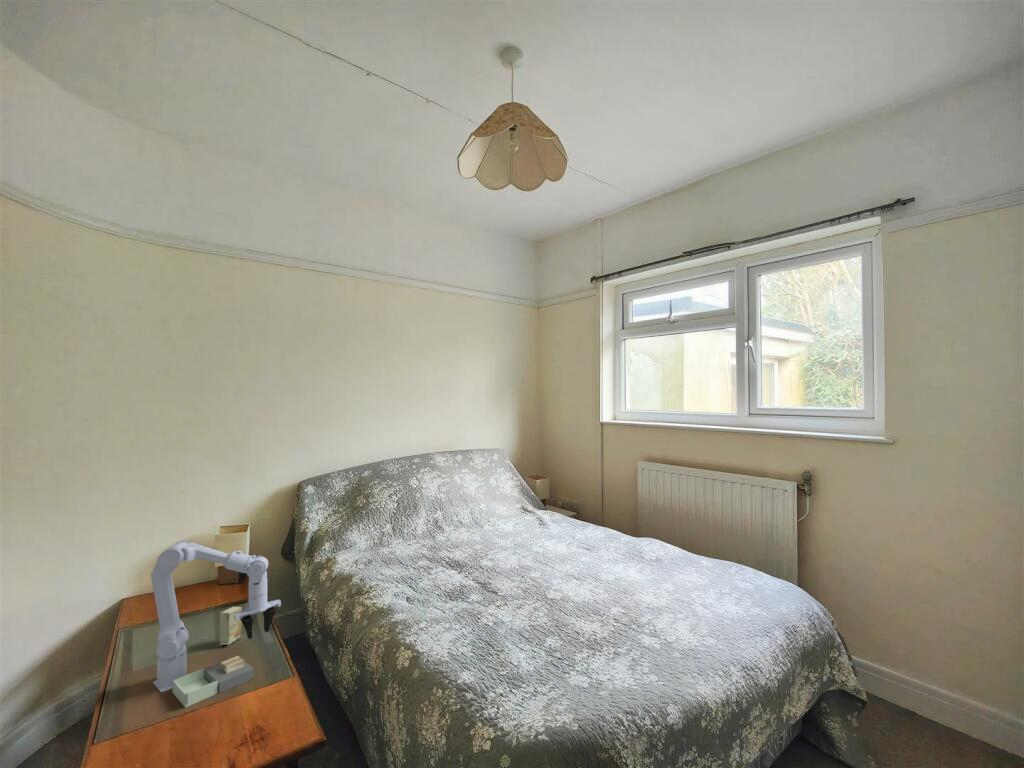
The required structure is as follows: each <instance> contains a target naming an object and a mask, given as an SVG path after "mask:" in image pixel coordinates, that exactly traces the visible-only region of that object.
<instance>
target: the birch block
mask: <svg viewBox="0 0 1024 768" xmlns="http://www.w3.org/2000/svg"><path fill="white" fill-rule="evenodd" d="M244 661H245V660H244V659H243V658H242V657H240V656H239V655H236V656H234V657H230V658H229V659H226V660H223V661H221V662H220V663H221V669H222V670H223V671H224V672H226V673H229V672H231V671H234V670H236V669H239V668H241V667H243V666H244Z"/></svg>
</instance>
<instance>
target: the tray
mask: <svg viewBox="0 0 1024 768" xmlns="http://www.w3.org/2000/svg"><path fill="white" fill-rule="evenodd" d="M204 669H205V668H204V667H203V668H201V669H198V670H196V671H193V672H191V673H188V674H186V675H185V676H183V677H180V678H178V679H175V680H172V688H171V690H172V694H173V695H174V696H175V697H176V699H177V700H178V701H179V702H180V703H181V704H182V706H183V707H184V708H188V707H190V706H193V705H194V704H196V703H199V702H201V701H204V700H206V699H208V698H210V697H212V696H215V695H218V694H219V693H218V681H215V682H212V683H208V682H207V681H206V680H205V679H204Z"/></svg>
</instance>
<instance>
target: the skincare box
mask: <svg viewBox="0 0 1024 768" xmlns="http://www.w3.org/2000/svg"><path fill="white" fill-rule="evenodd" d="M240 611H242V606H232V607H229V608H227V609H225V610H223V611H221V612H219V644H220V643H221V644H226V645H229V644H231V643H232V642H233V641H235V640H236V639H237V638H239V637H240V636H241V637H242V621H241V620H240V619H239V620H238V621H235V620H234V614H235V613H238V612H240Z"/></svg>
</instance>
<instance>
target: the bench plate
mask: <svg viewBox="0 0 1024 768" xmlns="http://www.w3.org/2000/svg"><path fill="white" fill-rule="evenodd" d="M204 679H205V680H206V681H207V682H208V683H212V682H215V681H218V693H217V694H222V693H223V692H226V691H229V690H230V689H233V688H235V687H237V686H240V685H242V684H244V683H247V682H250V680H253V679H255V668H254V667H253V666H251V664H249V663H248V662H246V661H245V660H244V666H243V667H241V668H239V669H236V670H234V671H231V672H229V673H226V672H224V671H223V670H222V669H221V662H218V663H217V664H213V665H211V666H209V667H206V668H204Z"/></svg>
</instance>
